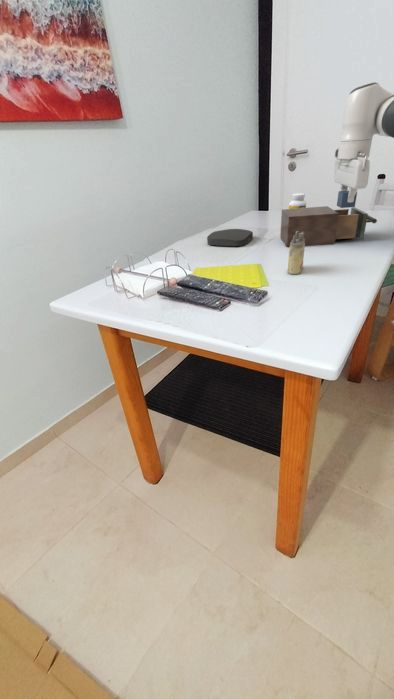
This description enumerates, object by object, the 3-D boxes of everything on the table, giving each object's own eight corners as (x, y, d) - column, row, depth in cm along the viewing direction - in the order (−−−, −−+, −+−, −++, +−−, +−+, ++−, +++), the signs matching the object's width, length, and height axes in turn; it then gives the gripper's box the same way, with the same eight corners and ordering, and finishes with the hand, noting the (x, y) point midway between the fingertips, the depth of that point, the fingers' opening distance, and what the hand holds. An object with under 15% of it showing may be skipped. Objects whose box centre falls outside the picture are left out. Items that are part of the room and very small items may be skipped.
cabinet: (323, 234, 121) (327, 206, 116) (334, 244, 111) (339, 213, 106) (280, 237, 122) (281, 209, 117) (286, 247, 112) (288, 216, 107)
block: (350, 204, 112) (352, 190, 110) (354, 207, 108) (357, 192, 106) (336, 205, 112) (338, 191, 110) (340, 208, 108) (343, 193, 106)
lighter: (299, 275, 90) (302, 237, 84) (285, 274, 91) (287, 236, 86) (303, 266, 95) (307, 230, 90) (289, 265, 96) (292, 229, 91)
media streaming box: (203, 245, 121) (203, 237, 119) (219, 235, 131) (219, 227, 130) (242, 247, 115) (242, 239, 113) (255, 236, 126) (255, 228, 124)
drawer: (363, 229, 119) (367, 206, 115) (376, 238, 110) (381, 212, 106) (309, 233, 121) (312, 210, 117) (318, 241, 111) (321, 217, 107)
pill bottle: (294, 228, 132) (296, 196, 126) (284, 225, 138) (286, 194, 131) (307, 225, 134) (310, 193, 128) (297, 222, 140) (299, 192, 133)
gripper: (379, 152, 93) (369, 205, 100) (353, 149, 110) (346, 195, 118) (355, 153, 93) (347, 207, 101) (333, 151, 111) (327, 196, 118)
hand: (346, 200), depth 109 cm, fingers closed on block, 4 cm apart
